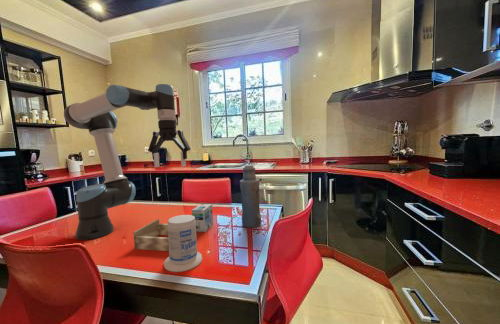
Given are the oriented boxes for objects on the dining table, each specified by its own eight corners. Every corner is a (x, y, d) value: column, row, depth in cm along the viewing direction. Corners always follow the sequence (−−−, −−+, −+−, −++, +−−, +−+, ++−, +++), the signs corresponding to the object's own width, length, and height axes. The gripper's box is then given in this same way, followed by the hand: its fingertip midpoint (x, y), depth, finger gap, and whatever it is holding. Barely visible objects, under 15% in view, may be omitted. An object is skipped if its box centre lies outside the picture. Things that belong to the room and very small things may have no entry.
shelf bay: (134, 248, 90) (133, 232, 90) (157, 233, 105) (156, 219, 105) (175, 251, 87) (174, 234, 86) (193, 235, 102) (192, 220, 101)
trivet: (156, 270, 74) (155, 268, 74) (176, 251, 87) (176, 249, 87) (191, 273, 71) (191, 271, 71) (207, 253, 84) (207, 251, 84)
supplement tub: (185, 268, 73) (183, 225, 72) (163, 263, 77) (160, 221, 75) (202, 254, 82) (200, 215, 81) (182, 250, 86) (179, 213, 84)
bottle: (258, 228, 106) (255, 166, 104) (239, 227, 110) (236, 166, 107) (263, 221, 115) (261, 164, 113) (245, 220, 118) (243, 164, 116)
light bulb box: (205, 232, 104) (204, 210, 104) (192, 231, 106) (191, 209, 105) (213, 224, 115) (212, 203, 114) (201, 223, 116) (200, 203, 115)
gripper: (137, 121, 99) (141, 168, 101) (188, 117, 94) (191, 167, 96) (148, 122, 107) (151, 166, 108) (196, 119, 101) (198, 165, 103)
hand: (170, 166), depth 102 cm, fingers open, 13 cm apart
